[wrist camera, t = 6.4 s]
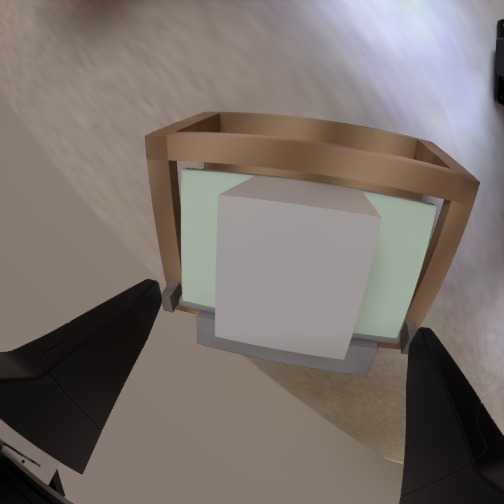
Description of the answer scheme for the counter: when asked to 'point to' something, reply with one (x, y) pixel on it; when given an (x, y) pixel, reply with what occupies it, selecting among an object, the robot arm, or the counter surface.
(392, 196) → the trapdoor
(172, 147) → the frame
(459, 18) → the counter surface
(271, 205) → the stone
